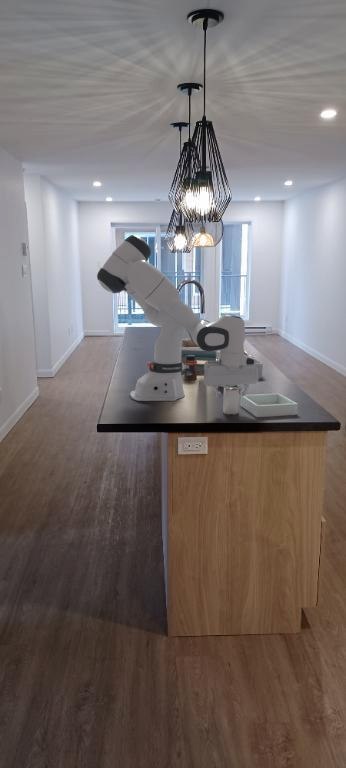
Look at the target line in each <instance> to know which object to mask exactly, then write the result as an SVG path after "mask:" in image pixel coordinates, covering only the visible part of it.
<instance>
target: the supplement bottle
mask: <svg viewBox="0 0 346 768" xmlns="http://www.w3.org/2000/svg"><path fill="white" fill-rule="evenodd" d="M186 358H187V359H186V360H185V361H184V364H183V365H184V366H183V367H184V368H183V370H184V371H183V372H184V373H183V376H184V377H183V378H184V379H185V380H187V381H194V380H196V379H198V377H197V376H198V372H197V364H198V360H195V355H187V356H186Z"/></svg>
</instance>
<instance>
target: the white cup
mask: <svg viewBox="0 0 346 768" xmlns="http://www.w3.org/2000/svg"><path fill="white" fill-rule="evenodd" d="M222 399H223V400H222V401H223V403H222V413H223V414H225V415H230V414H233V415H237V413H238V414H239V401H240V388H238V387H236V386H231V387H226V388H224V387H223V398H222Z"/></svg>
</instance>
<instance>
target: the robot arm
mask: <svg viewBox="0 0 346 768" xmlns="http://www.w3.org/2000/svg"><path fill="white" fill-rule="evenodd" d="M151 252H152V251H151V248H150V246H149V244H148V242H147V240H145V239H144V238H142V237H140V236H138V235H137V234H131V235H129V236H128V237H125V239H124V241H123V242H122V243H121V244H119V246H117V247H116V248H115V249H114V251H112V253H111V255H110V256H109V257H108V258H107V260H106V261H105V263H104V264H103V266H102V267H101V268H99V271H98V272H97V274H96V278H97V280H98V283H99V284H100V286H101V287H102V288H103V289H104V290H106V291H107V292H110V293H112V294H119V293H121V292H123V291H124V292H125V293H126V294H127V295H128V296H129V297H130V298H132V299H133V301H135V302H136V304H137V305H138V306H139V307H140V308H141V310H142V311H143V316H144V319H145V320H146V321H147V322H148V323H149V324H152V325H153V326H156V327H159V328H161V330H160V335H159V337H158V338H157V339H156V340H155V341H154V350H153V351H154V354H153V355H154V361H152V362H151V361H147V362H146V366H147V367H149V370H148V372H146V373H145V374H144V375H142V376H141V377H140V378H138V379H137V381H136V383H135V384H136V385H135V389H134V390H132V391H130V394H129V396H130V398H131V399H132V400H135V401H138V402H155V401H156V402H168V401H169V402H171V401H174V402H175V401H177V400H179V399H181V398H184V397H185V395H186V394H185V392H184V391H185V390H184V387H183V386H184V385H183V378H182V375H183V372H184V371H183V370H184V368H183V367H184V366H183V365H184V364H183V363H182V362H181V356H182V354H183V353H182V347H183V346H182V345H183V341H184V338H185V334H186V332H188V333H187V334H188V335H189V337H190V340H191V342H192V343H193V345H195V346H196V347H197V348H201V349H202V350H204V351H215V350H220V359H219V360H208V361H205V362H204V363H203V364H204V371H205V372H203V373H204V374H203V384H205V386H207V387H212V388H213V390H214V392H215V397H216V398H221V397H222V396H221V395H222V392H220V391H219V390H218V389H219V387H220V385H237V386H240V385H241V386H243V388H242V390H239V397H241V396H245V395H246V392H247V391H248V388H249V385H255V384H257V383H258V382H259V379H258V368H257V366H256V364H257V360H256V359H257V358H254V357H252V356H250V355H248V354H245V349H244V344H245V343H244V342H245V341H246V328H245V326H246V325H245V321H244V319H243V318H242V317H240V316H239V315H235V314H230V313H225V314H223V315H222V316H220V317H219V318H217V319H215V320H213V321H208V320H205V319H202V318H200V317H199V316H197V315H196V314H195V312H194V310H193V308H192V307H191V306H190V305H189V304H187V303H185V302H183V300H182V299H181V295H180V293H179V290H178V288H177V287H176V286H175V283H173V282H172V281H171V280H170V279H169V277H167V276H166V275H165V274H164V273H163V272H162V271H161V270H159V269H158V268H157V267H155V266H154V265H153V264H151V263H149V258H150V256H151V255H152V253H151Z"/></svg>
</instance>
